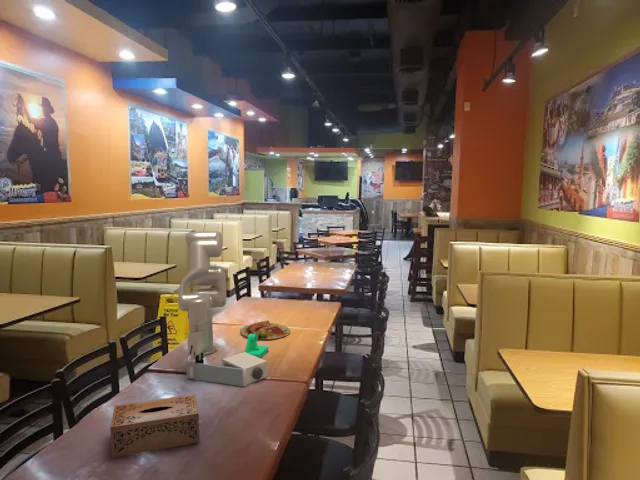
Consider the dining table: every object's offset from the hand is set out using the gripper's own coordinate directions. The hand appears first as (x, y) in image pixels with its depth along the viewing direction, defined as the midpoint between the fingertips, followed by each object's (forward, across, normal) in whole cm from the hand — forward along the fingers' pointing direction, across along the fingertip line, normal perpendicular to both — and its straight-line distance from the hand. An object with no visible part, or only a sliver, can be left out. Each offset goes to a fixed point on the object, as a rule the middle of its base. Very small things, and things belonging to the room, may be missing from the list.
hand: (199, 367), depth 196 cm
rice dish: (+5, -64, +1) cm, 64 cm away
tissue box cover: (+5, +46, +13) cm, 48 cm away
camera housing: (+4, -8, +18) cm, 20 cm away
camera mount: (+4, -32, +12) cm, 34 cm away
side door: (+4, +3, +9) cm, 11 cm away
